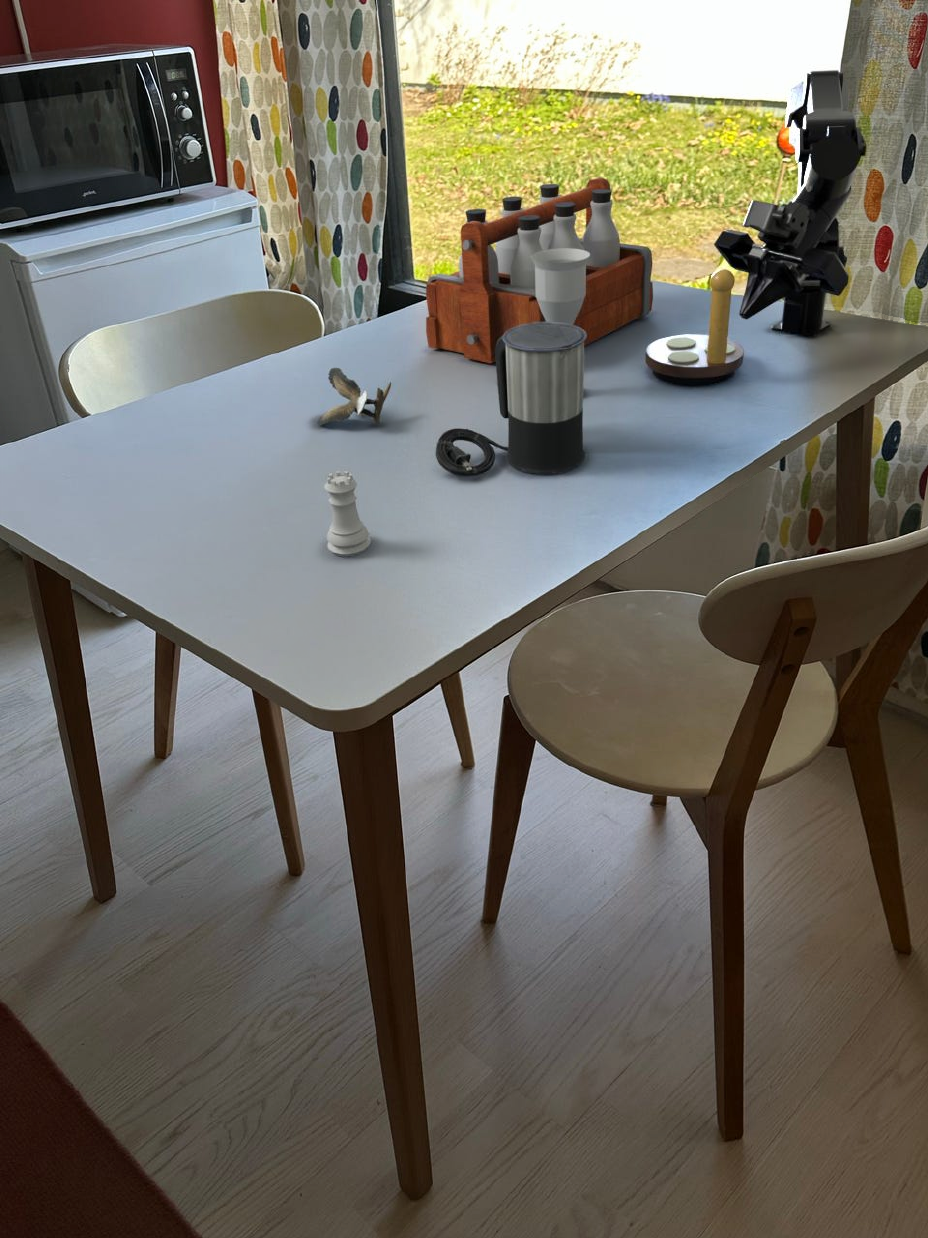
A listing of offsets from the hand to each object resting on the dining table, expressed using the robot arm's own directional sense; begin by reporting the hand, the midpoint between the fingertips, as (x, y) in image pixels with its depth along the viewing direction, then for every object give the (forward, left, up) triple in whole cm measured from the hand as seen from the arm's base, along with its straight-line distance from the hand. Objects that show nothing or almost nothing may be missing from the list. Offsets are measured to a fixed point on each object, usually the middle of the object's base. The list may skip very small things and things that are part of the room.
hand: (742, 317), depth 135 cm
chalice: (+19, -16, -8) cm, 26 cm away
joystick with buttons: (+2, -6, -6) cm, 9 cm away
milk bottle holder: (0, -34, -8) cm, 35 cm away
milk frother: (+39, -8, -8) cm, 40 cm away
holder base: (+2, -6, -8) cm, 10 cm away
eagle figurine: (+41, -33, -8) cm, 53 cm away
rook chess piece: (+64, -9, -8) cm, 65 cm away
